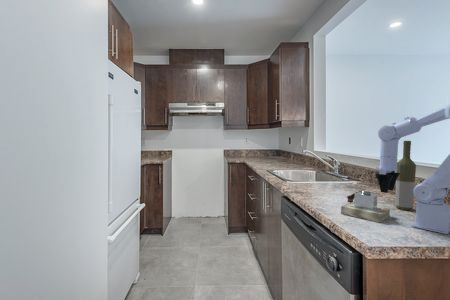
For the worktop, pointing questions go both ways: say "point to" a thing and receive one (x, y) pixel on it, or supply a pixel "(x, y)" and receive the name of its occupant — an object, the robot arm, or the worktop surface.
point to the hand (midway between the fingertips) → (387, 191)
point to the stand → (366, 212)
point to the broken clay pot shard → (351, 197)
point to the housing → (365, 200)
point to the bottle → (405, 179)
